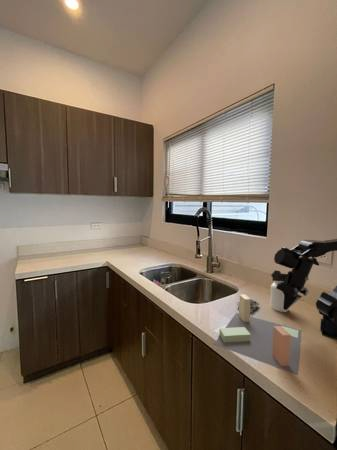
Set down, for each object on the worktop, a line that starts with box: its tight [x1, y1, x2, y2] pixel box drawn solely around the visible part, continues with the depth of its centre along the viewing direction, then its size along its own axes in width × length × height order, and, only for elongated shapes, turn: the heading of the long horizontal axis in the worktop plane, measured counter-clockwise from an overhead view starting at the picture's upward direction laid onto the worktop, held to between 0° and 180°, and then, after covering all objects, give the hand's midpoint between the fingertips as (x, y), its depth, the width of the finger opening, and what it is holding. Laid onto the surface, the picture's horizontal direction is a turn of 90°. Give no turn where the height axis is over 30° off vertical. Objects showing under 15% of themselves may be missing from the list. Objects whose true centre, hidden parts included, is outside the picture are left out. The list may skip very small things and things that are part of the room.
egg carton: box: [236, 298, 260, 313], centre depth 107 cm, size 11×8×4 cm
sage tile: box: [218, 327, 251, 342], centre depth 83 cm, size 2×5×10 cm
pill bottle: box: [269, 281, 289, 313], centre depth 107 cm, size 8×8×15 cm
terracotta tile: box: [272, 326, 291, 366], centre depth 70 cm, size 2×5×10 cm, turn 6°
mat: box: [213, 312, 302, 375], centre depth 83 cm, size 26×28×1 cm
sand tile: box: [238, 293, 251, 322], centre depth 96 cm, size 2×5×10 cm, turn 6°
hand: (284, 309), depth 85 cm, fingers closed
